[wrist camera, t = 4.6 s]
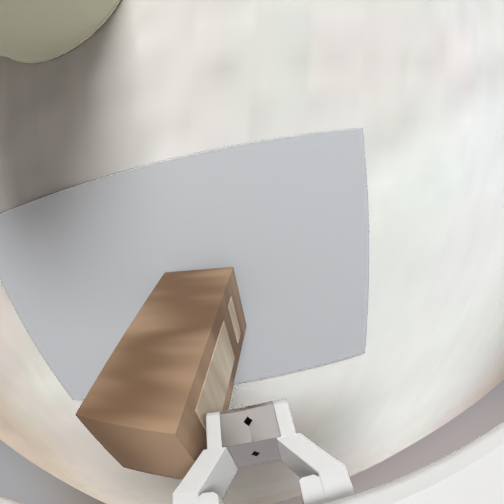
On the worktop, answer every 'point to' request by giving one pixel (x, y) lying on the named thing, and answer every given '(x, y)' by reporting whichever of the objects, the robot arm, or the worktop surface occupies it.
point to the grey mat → (201, 252)
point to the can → (49, 26)
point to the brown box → (169, 373)
